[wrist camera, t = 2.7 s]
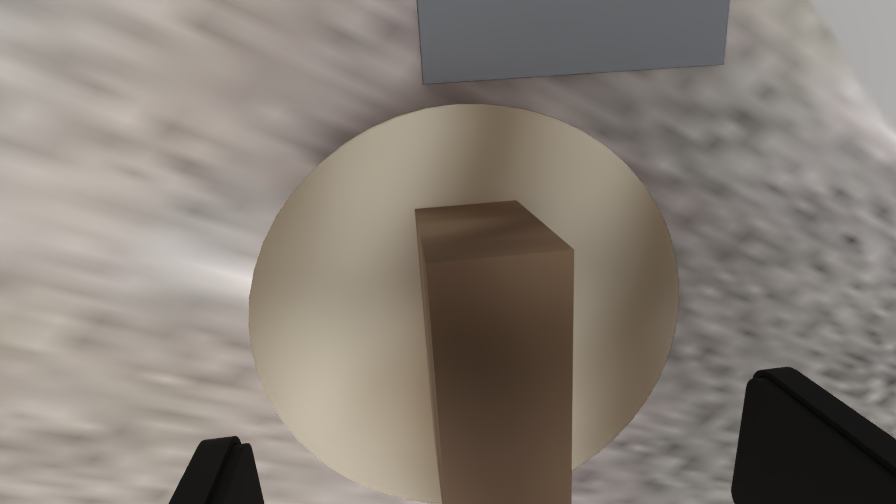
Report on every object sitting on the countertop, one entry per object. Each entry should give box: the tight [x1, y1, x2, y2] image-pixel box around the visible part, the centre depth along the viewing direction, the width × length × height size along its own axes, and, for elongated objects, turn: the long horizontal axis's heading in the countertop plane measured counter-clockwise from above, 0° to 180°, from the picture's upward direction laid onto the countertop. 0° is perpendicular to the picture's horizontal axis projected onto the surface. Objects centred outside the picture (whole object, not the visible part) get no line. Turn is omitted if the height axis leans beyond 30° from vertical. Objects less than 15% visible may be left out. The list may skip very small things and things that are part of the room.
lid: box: [249, 104, 679, 504], centre depth 14 cm, size 14×14×6 cm
